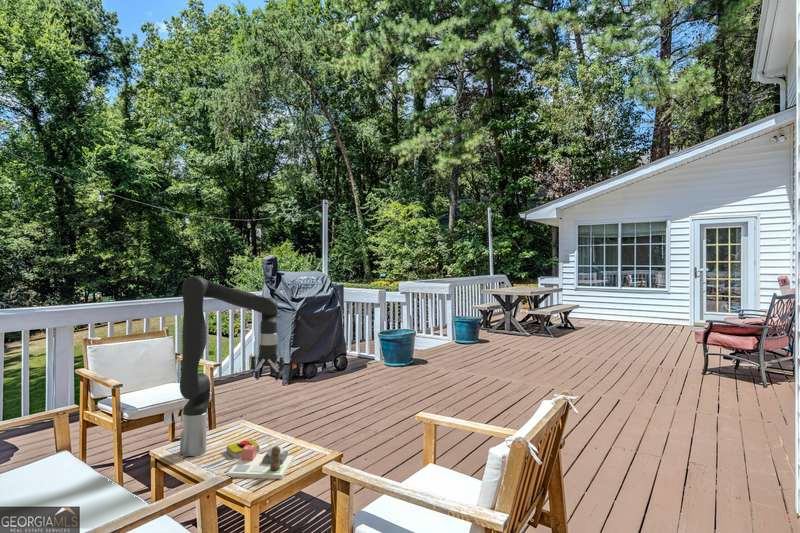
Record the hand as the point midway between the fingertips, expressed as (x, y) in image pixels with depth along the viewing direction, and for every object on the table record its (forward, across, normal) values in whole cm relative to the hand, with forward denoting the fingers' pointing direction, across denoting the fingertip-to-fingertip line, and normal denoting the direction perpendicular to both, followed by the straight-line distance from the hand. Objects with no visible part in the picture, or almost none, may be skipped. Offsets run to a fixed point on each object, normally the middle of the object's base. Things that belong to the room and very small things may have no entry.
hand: (267, 379), depth 194 cm
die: (+29, -2, -14) cm, 32 cm away
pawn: (+28, +12, -24) cm, 39 cm away
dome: (+28, +9, -15) cm, 33 cm away
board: (+30, +5, -19) cm, 36 cm away
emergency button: (+31, -8, -5) cm, 32 cm away
